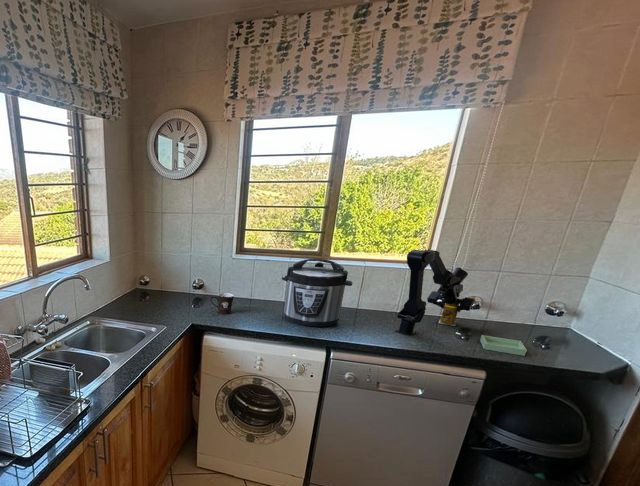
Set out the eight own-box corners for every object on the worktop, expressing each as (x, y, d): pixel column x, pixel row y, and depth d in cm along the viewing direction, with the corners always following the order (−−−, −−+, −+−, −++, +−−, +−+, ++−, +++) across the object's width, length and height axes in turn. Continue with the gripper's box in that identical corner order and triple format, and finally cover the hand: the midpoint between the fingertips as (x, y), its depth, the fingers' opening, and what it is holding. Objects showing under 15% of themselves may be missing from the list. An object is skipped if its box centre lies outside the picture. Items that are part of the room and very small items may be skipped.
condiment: (437, 323, 206) (444, 300, 201) (439, 319, 212) (446, 297, 208) (455, 326, 202) (462, 303, 197) (456, 322, 208) (463, 299, 203)
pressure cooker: (267, 316, 214) (275, 256, 203) (304, 309, 227) (313, 252, 216) (314, 333, 190) (325, 266, 178) (352, 324, 203) (365, 261, 192)
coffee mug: (234, 311, 221) (236, 294, 218) (228, 315, 215) (230, 297, 211) (215, 308, 227) (216, 291, 224) (208, 312, 220) (210, 294, 217)
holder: (483, 349, 173) (485, 343, 172) (480, 340, 183) (481, 335, 182) (524, 355, 167) (527, 350, 166) (518, 346, 177) (520, 340, 176)
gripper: (479, 282, 189) (482, 301, 199) (435, 275, 203) (440, 293, 213) (467, 301, 188) (470, 319, 197) (424, 292, 202) (429, 310, 212)
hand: (452, 310), depth 205 cm, fingers open, 6 cm apart
